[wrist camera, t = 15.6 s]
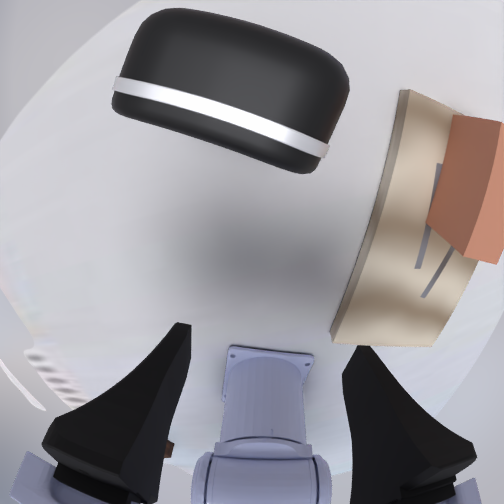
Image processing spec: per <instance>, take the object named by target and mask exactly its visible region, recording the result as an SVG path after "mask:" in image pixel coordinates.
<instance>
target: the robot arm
mask: <svg viewBox="0 0 504 504" xmlns="http://www.w3.org/2000/svg"><path fill="white" fill-rule="evenodd" d="M232 354H234V355H232ZM190 360H191V325H189V324H184V323H179V322H177V323H175V324H174V325H173V327H172V328H171V329H170V331H169V332H168V333H167V335H166V336H165V337H164V338H163V339H162V341H161V342H160V343H159V344H158V345H157V346H156V347H155V349H154V350H153V351H152V352H151V353H150V354H149V355H148V356H147V357H146V358H145V359H144V360H143V361H142V362H141V363H140V364H139V365H138V366H137V367H136V368H135V369H134V370H133V371H132V372H130V373H129V374H128V375H127V376H126V377H125V378H123V379H122V380H121V381H120V382H118V383H117V384H116V385H114V386H113V387H111V388H110V389H109V390H107V391H106V392H104V393H103V394H101V395H100V396H98V397H97V398H95V399H93V400H91V401H90V402H88V403H86V404H84V405H83V406H81V407H79V408H77V409H75V410H73V411H70V412H68V413H66V414H64V415H61V416H59V417H56V418H55V419H54V421H53V422H52V424H51V425H50V427H49V429H48V431H47V433H46V435H45V437H44V439H43V442H42V447H43V448H44V450H45V451H46V452H47V453H48V454H50V455H51V456H52V457H53V458H54V459H55V460H56V461H57V462H58V465H57V467H55V466H53V465H51V464H50V463H48V462H46V461H45V460H43V459H41V458H39V457H38V456H36V455H34V454H33V453H31V452H29V451H27V452H26V454H25V456H24V459H23V461H22V463H21V466H20V468H19V471H18V473H17V476H16V478H15V480H14V483H13V486H12V488H11V491H10V494H9V495H10V497H11V498H13V499H14V500H16V501H17V502H18V503H20V504H140V503H143V504H153V503H155V502H157V500H158V492H159V485H160V477H161V471H162V466H163V460H164V455H165V449H166V444H167V439H168V435H169V430H170V426H171V422H172V419H173V416H174V413H175V410H176V407H177V404H178V401H179V398H180V395H181V392H182V389H183V386H184V384H185V381H186V378H187V373H188V369H189V364H190ZM313 362H314V357H313V356H312V355H303V354H293V353H283V352H274V351H266V350H258V349H250V348H243V347H236V346H232V347H230V348H229V349H228V356H227V363H226V370H225V378H224V385H223V392H222V399H221V400H222V401H223V402H224V403H225V407H224V415H223V422H222V429H221V437H220V442H216V443H215V449H214V453H213V452H206V453H205V454H204V455H203V456H202V457H200V458H199V459H198V461H197V463H196V466H195V469H194V473H193V479H192V486H191V504H331V497H332V480H331V473H330V469H329V466H328V463H327V462H326V461H325V460H324V459H323V458H322V457H321V456H320V455H312V445H311V444H308V445H306V431H305V416H304V403H303V391H302V386H303V384H304V382H305V380H306V377H307V375H308V373H309V371H310V369H311V367H312V365H313ZM342 385H343V395H344V401H345V406H346V411H347V416H348V421H349V427H350V432H351V439H352V457H353V469H352V471H353V472H352V490H351V498H350V504H481V499H480V495H479V491H478V487H477V483H476V480H475V478H472V479H470V480H468V481H466V482H463V483H461V484H459V485H457V486H455V487H454V485H453V482H455V481H456V476H455V475H456V474H457V473H459V472H460V471H462V470H463V469H465V468H466V467H468V466H469V465H471V464H472V463H473V462H474V461H475V460H476V458H477V455H476V452H475V450H474V446H473V443H472V442H470V441H468V440H466V439H464V438H462V437H460V436H459V435H457V434H455V433H454V432H452V431H450V430H449V429H448V428H446V427H444V426H443V425H442V424H440V423H439V422H438V421H437V420H435V419H434V418H433V417H432V416H430V415H429V414H428V413H427V412H426V411H425V410H424V409H423V408H422V407H421V406H420V405H419V404H418V403H417V402H416V401H415V400H414V399H413V398H412V397H411V396H410V395H409V394H408V393H407V392H406V391H405V389H404V388H403V387H402V386H401V385H400V384H399V382H398V381H397V380H396V379H395V377H394V376H393V375H392V374H391V372H390V371H389V370H388V368H387V367H386V366H385V364H384V363H383V362H382V361H381V359H380V358H379V357H378V355H377V354H376V353H375V352H374V350H373V349H372V348H371V347H370V346H365V345H358V346H357V348H356V350H355V351H354V353H353V355H352V357H351V359H350V361H349V362H348V364H347V366H346V368H345V369H344V371H343V373H342Z"/></svg>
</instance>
